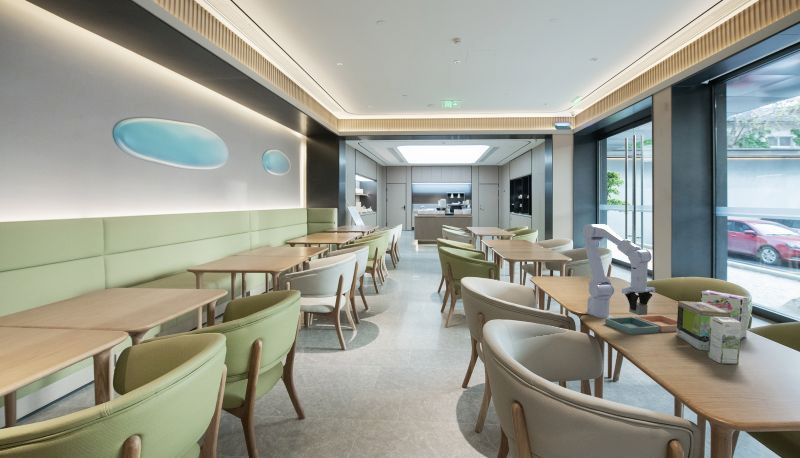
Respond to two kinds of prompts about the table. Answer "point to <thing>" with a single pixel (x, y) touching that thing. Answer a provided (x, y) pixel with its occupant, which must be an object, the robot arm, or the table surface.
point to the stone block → (639, 309)
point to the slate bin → (631, 325)
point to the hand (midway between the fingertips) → (637, 309)
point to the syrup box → (724, 340)
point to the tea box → (697, 322)
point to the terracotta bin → (660, 322)
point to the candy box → (729, 306)
